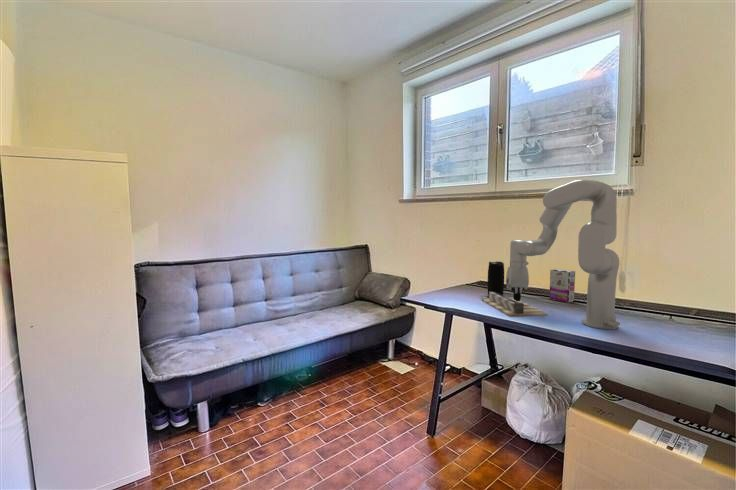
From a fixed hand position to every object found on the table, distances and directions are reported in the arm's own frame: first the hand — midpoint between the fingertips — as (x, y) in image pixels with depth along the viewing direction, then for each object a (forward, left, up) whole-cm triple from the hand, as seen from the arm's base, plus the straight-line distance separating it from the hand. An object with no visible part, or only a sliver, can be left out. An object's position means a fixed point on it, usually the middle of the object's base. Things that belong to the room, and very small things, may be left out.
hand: (516, 300), depth 173 cm
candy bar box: (+7, -29, -3) cm, 30 cm away
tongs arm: (-3, +8, -1) cm, 8 cm away
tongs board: (-3, +4, -3) cm, 6 cm away
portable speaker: (+19, +2, -3) cm, 19 cm away
